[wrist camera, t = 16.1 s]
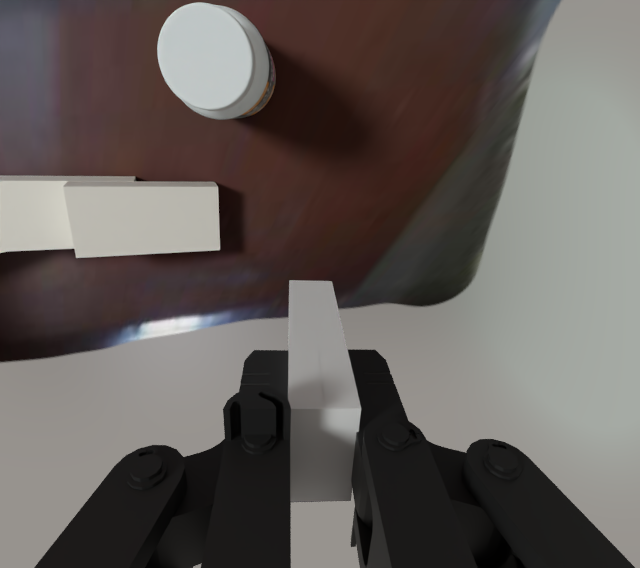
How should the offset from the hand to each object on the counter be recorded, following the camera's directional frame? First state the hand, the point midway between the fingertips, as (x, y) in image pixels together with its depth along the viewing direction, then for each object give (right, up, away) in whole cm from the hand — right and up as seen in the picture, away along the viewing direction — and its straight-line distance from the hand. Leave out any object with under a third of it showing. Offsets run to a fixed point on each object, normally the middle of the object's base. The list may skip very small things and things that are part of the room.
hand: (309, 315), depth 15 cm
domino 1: (-14, +7, +17) cm, 23 cm away
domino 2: (-8, +7, +17) cm, 20 cm away
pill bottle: (-6, +16, +14) cm, 22 cm away
